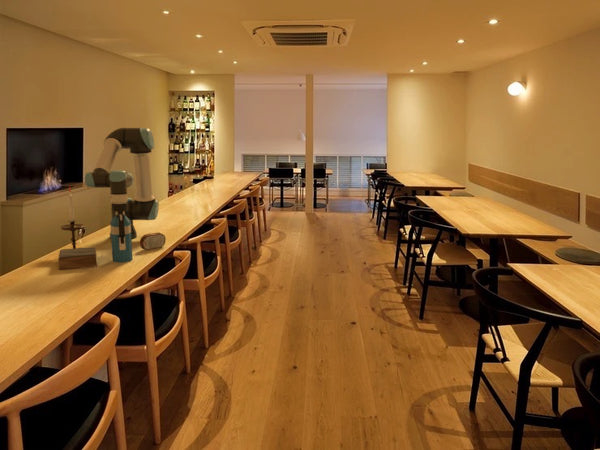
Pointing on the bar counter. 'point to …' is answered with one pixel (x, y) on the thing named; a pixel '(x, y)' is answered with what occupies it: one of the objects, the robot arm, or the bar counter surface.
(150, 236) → the tin
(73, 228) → the candlestick
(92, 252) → the stand
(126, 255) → the water bottle
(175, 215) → the bar counter surface
